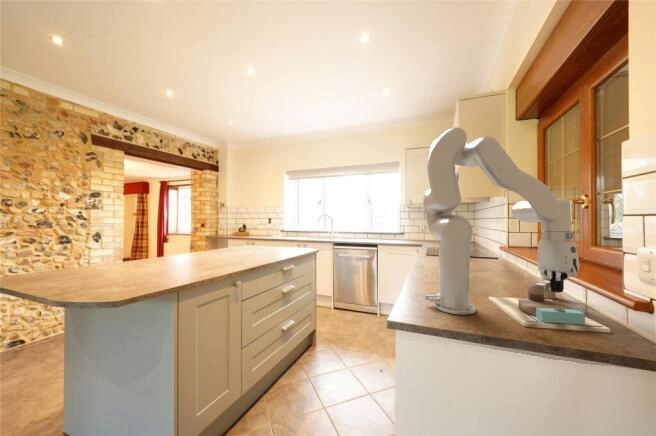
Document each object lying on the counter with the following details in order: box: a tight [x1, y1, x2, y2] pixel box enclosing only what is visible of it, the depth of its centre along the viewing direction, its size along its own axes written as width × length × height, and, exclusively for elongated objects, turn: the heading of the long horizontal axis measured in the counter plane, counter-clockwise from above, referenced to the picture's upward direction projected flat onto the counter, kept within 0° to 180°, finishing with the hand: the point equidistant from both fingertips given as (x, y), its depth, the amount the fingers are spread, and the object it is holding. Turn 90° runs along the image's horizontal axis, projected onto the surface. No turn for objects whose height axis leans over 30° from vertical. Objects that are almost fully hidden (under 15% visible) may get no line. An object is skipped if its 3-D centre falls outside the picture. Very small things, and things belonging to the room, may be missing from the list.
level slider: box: [536, 308, 586, 325], centre depth 72 cm, size 10×3×3 cm, turn 78°
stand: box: [488, 296, 612, 333], centre depth 82 cm, size 20×25×1 cm
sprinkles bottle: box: [539, 271, 557, 300], centre depth 98 cm, size 5×5×14 cm
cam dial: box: [518, 278, 570, 315], centre depth 84 cm, size 22×16×7 cm
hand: (556, 291), depth 86 cm, fingers closed
